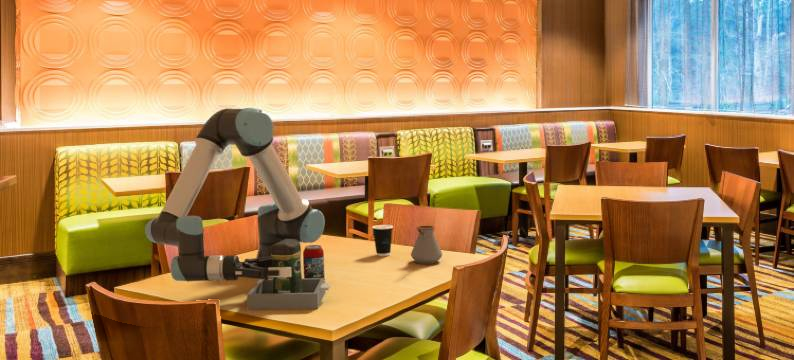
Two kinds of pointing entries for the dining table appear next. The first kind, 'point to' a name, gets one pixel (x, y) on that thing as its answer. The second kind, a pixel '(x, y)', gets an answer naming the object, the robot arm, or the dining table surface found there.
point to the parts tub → (287, 296)
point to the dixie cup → (382, 239)
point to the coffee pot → (426, 246)
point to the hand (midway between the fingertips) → (295, 266)
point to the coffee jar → (287, 256)
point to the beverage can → (313, 261)
